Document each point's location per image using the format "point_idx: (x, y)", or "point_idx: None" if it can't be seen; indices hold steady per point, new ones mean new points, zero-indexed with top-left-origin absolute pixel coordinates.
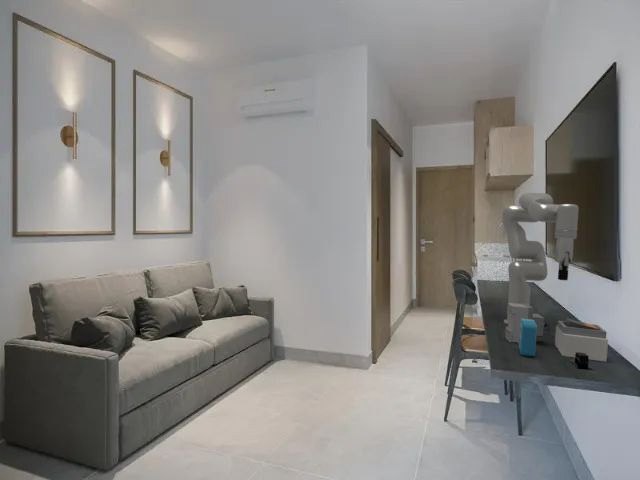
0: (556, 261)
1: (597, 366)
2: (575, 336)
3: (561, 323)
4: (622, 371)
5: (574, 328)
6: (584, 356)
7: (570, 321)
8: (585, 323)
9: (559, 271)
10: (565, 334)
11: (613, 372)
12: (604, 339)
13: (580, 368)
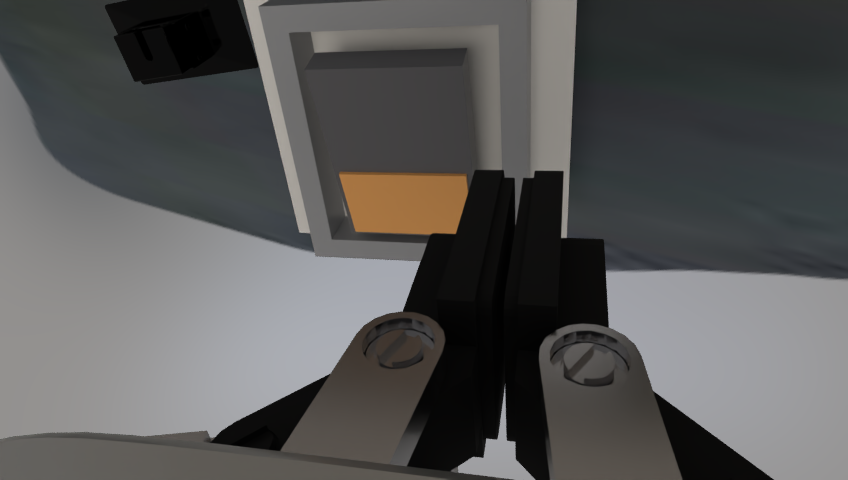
0: (442, 474)
1: (222, 110)
2: (262, 67)
3: (399, 8)
4: (224, 194)
5: (277, 82)
6: (128, 60)
7: (307, 75)
8: (431, 187)
9: (443, 279)
10: (258, 5)
11: (178, 154)
12: (298, 217)
13: (118, 21)
